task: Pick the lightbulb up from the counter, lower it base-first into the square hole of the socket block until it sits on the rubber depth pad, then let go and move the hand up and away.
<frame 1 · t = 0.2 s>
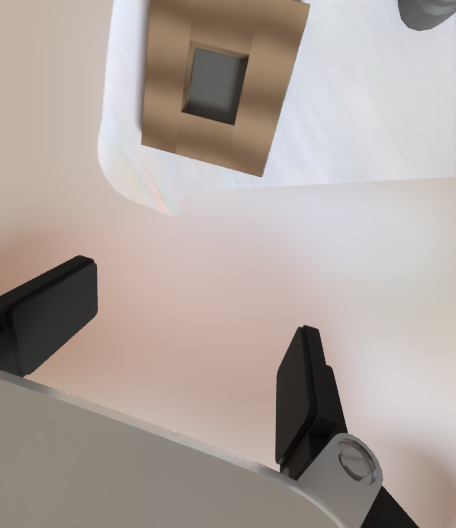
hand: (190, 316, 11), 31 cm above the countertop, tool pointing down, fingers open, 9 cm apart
socket block: (218, 90, 33), on the countertop
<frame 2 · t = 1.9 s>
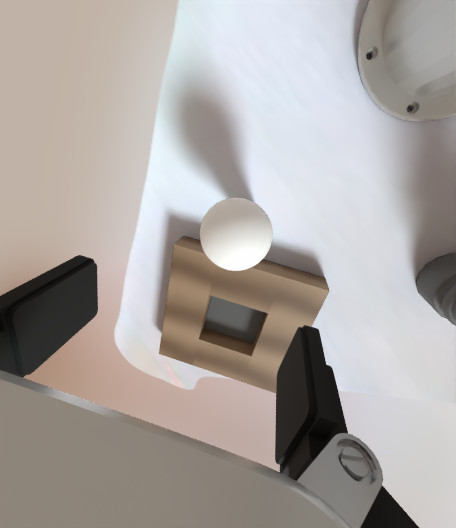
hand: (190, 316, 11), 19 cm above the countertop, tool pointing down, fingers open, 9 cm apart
lightbulb: (247, 212, 28), on the countertop
socket block: (235, 313, 34), on the countertop
candle holder: (447, 278, 27), on the countertop
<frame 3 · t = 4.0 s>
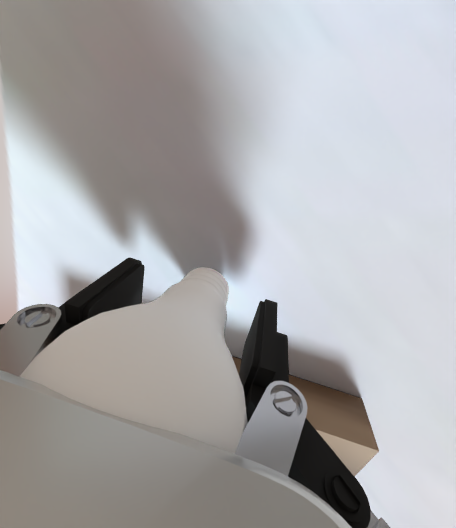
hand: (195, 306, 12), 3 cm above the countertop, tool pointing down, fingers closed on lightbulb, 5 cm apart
lightbulb: (210, 279, 14), on the countertop, touching gripper
socket block: (200, 430, 20), on the countertop
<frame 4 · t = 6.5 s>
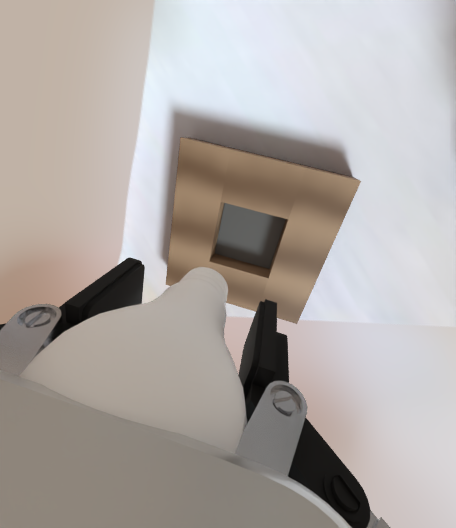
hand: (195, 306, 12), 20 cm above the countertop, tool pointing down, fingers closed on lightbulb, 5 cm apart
lightbulb: (209, 279, 14), point 17 cm above the countertop, touching gripper
socket block: (249, 233, 31), on the countertop
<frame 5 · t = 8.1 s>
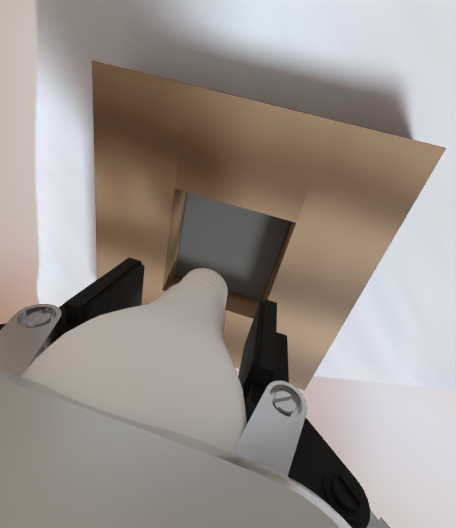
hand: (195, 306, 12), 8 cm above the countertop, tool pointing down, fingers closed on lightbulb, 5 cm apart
lightbulb: (209, 280, 14), point 5 cm above the countertop, touching gripper
socket block: (229, 244, 19), on the countertop
when the fingers open (4 cm above the countertop, at t = 9.4 s): lightbulb drops 1 cm, resting on socket block.
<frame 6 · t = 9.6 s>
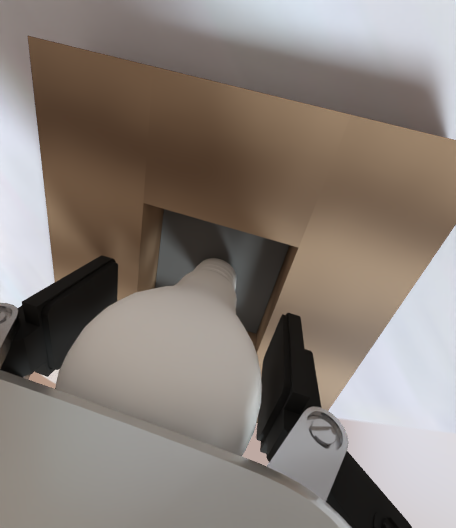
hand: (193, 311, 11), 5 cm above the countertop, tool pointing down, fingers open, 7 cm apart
lightbulb: (219, 270, 15), resting on socket block
socket block: (217, 267, 16), on the countertop
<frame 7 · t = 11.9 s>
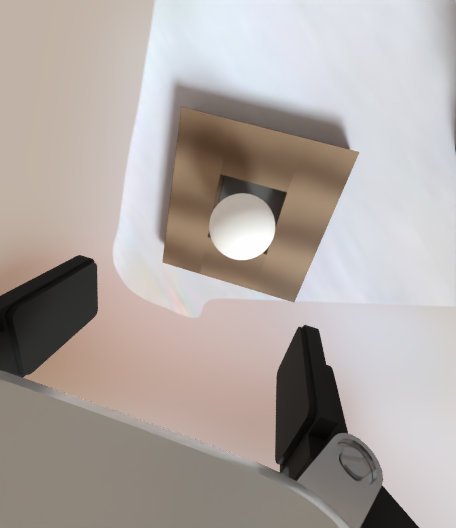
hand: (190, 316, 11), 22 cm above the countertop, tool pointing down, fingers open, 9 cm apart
lightbulb: (248, 211, 30), resting on socket block
socket block: (247, 210, 31), on the countertop
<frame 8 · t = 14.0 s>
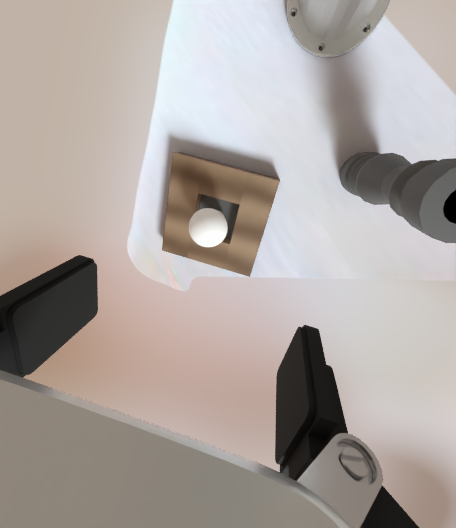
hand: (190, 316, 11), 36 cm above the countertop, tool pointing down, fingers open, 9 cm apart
lightbulb: (218, 216, 46), resting on socket block
socket block: (218, 215, 46), on the countertop
candle holder: (360, 173, 39), on the countertop
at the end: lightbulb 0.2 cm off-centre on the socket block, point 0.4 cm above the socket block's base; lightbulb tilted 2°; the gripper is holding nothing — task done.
